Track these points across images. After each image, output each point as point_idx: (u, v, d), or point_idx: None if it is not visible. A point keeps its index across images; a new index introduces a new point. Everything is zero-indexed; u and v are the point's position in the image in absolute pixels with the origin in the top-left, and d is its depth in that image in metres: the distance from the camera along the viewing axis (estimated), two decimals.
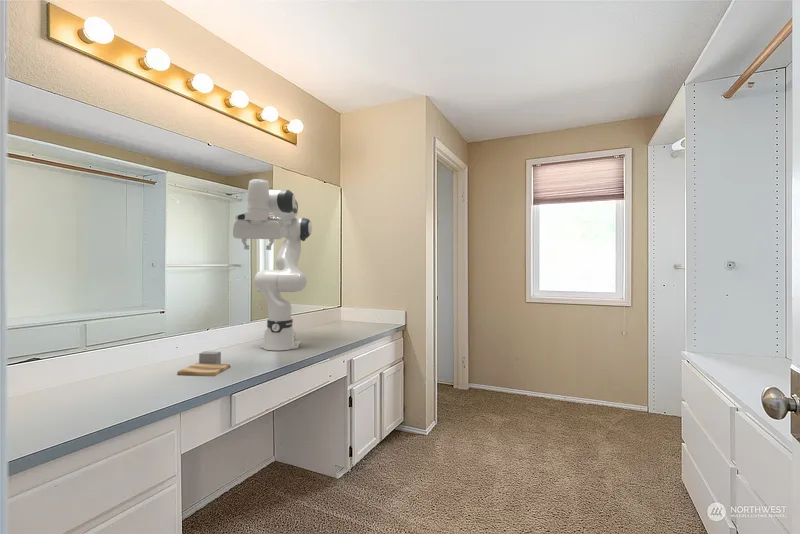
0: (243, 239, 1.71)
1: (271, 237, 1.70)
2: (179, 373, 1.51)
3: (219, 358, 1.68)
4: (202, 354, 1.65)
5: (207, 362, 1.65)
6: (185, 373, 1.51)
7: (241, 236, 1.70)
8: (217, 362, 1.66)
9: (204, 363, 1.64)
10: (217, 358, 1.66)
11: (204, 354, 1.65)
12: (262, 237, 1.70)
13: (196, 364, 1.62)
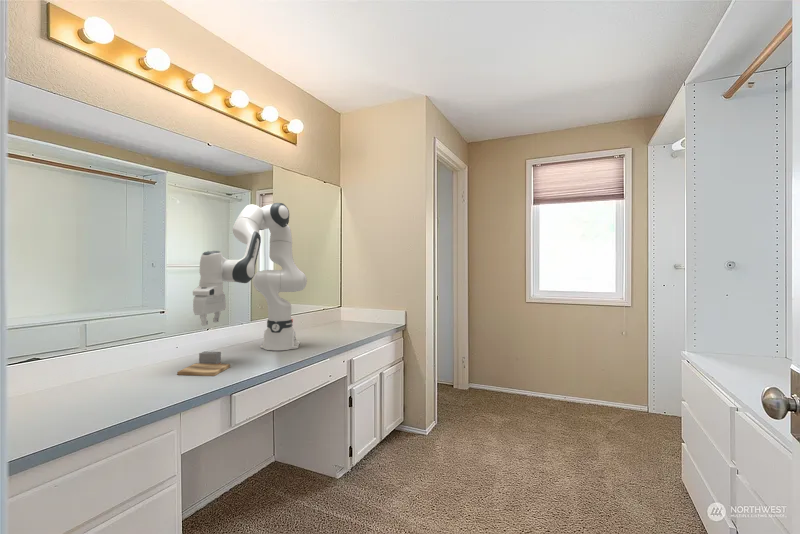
0: (205, 315, 1.61)
1: (222, 309, 1.73)
2: (179, 373, 1.51)
3: (219, 358, 1.68)
4: (202, 354, 1.65)
5: (207, 362, 1.65)
6: (185, 373, 1.51)
7: (207, 312, 1.61)
8: (217, 362, 1.66)
9: (204, 363, 1.64)
10: (217, 358, 1.66)
11: (204, 354, 1.65)
12: (217, 310, 1.70)
13: (196, 364, 1.62)
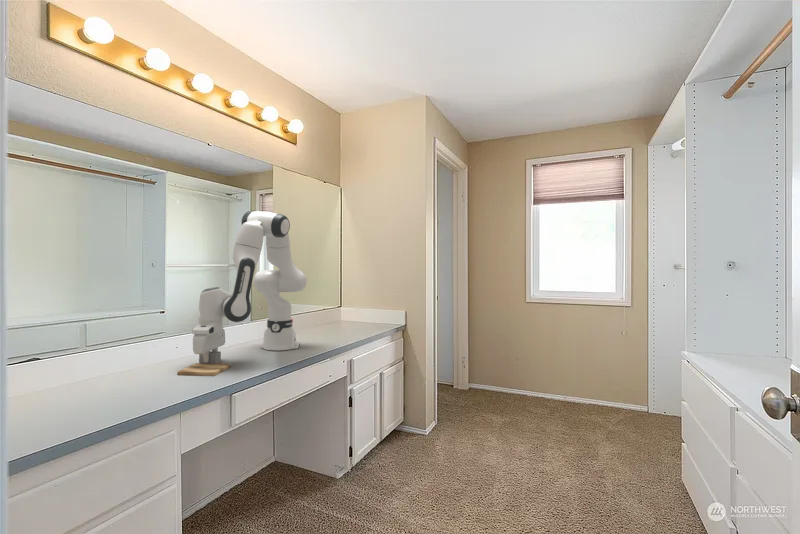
0: (208, 352, 1.63)
1: (221, 344, 1.74)
2: (179, 373, 1.51)
3: (219, 358, 1.68)
4: None
5: (207, 362, 1.65)
6: (185, 373, 1.51)
7: (206, 350, 1.61)
8: (217, 362, 1.66)
9: (204, 363, 1.64)
10: (217, 358, 1.66)
11: None
12: (217, 346, 1.70)
13: (196, 364, 1.62)
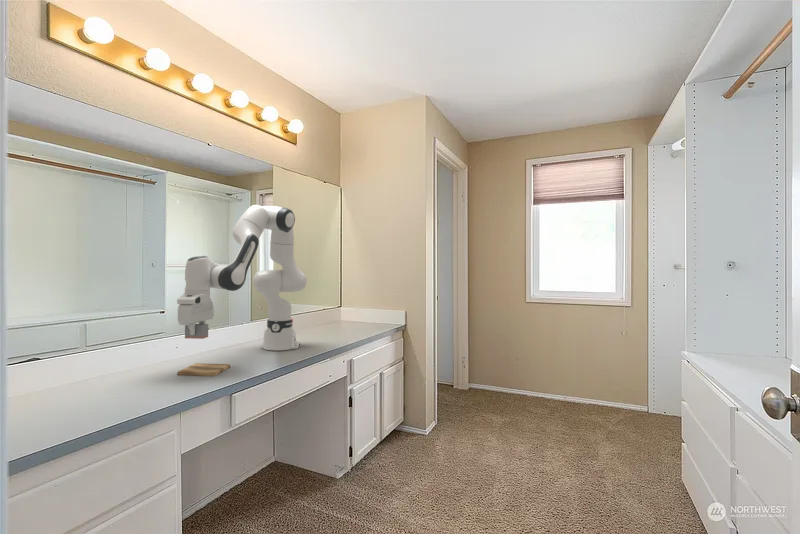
0: (194, 324, 1.53)
1: (209, 318, 1.63)
2: (179, 373, 1.51)
3: (206, 331, 1.58)
4: None
5: None
6: (185, 373, 1.51)
7: (192, 321, 1.51)
8: (204, 335, 1.56)
9: (204, 363, 1.64)
10: (204, 330, 1.56)
11: None
12: (204, 319, 1.60)
13: (196, 364, 1.62)
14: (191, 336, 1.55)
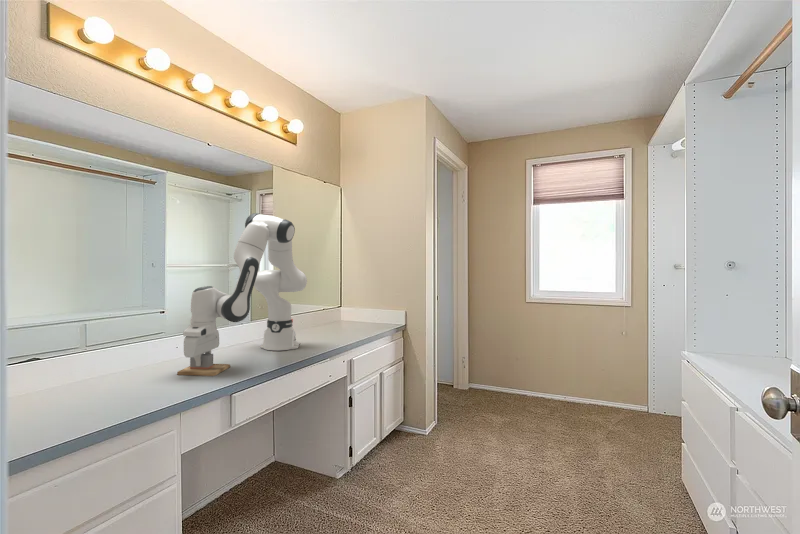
0: (200, 355, 1.54)
1: (215, 347, 1.64)
2: (179, 373, 1.51)
3: (211, 360, 1.58)
4: None
5: None
6: (185, 373, 1.51)
7: (198, 353, 1.51)
8: (209, 365, 1.56)
9: None
10: (209, 360, 1.56)
11: None
12: (210, 349, 1.60)
13: None
14: (196, 366, 1.55)
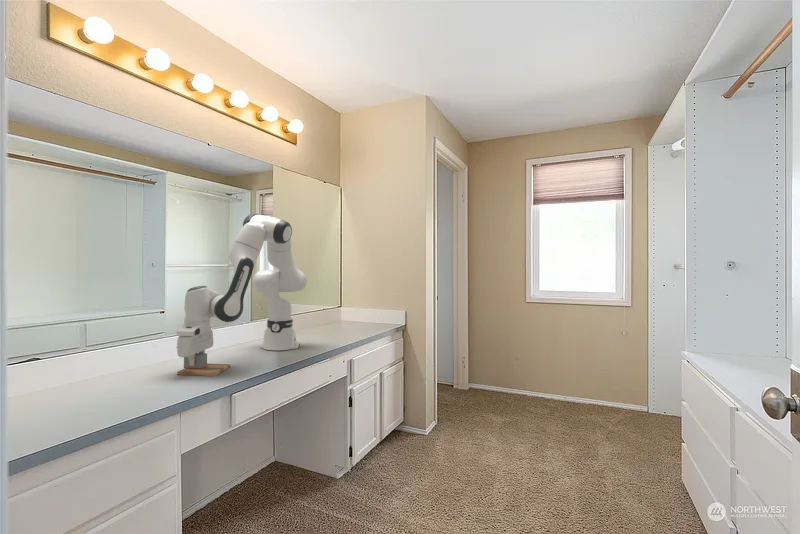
0: (194, 355, 1.53)
1: (209, 347, 1.64)
2: (179, 373, 1.51)
3: (205, 360, 1.58)
4: None
5: None
6: (185, 373, 1.51)
7: (192, 353, 1.51)
8: (203, 364, 1.56)
9: None
10: (203, 360, 1.56)
11: None
12: (204, 349, 1.60)
13: None
14: (190, 366, 1.55)
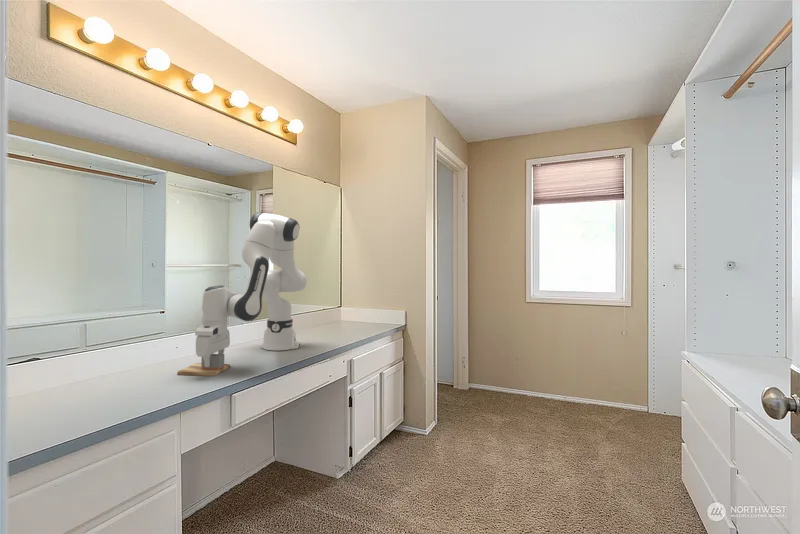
0: (209, 355, 1.51)
1: (226, 346, 1.63)
2: (179, 373, 1.51)
3: (223, 361, 1.58)
4: None
5: None
6: (185, 373, 1.51)
7: (210, 353, 1.51)
8: (220, 365, 1.56)
9: None
10: (220, 361, 1.56)
11: None
12: (221, 348, 1.60)
13: (196, 364, 1.62)
14: (208, 367, 1.55)
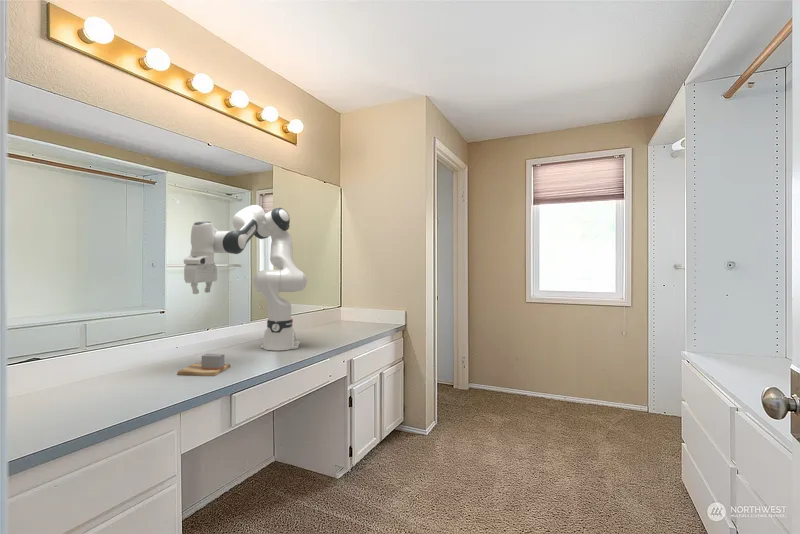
0: (197, 283, 1.63)
1: (213, 280, 1.76)
2: (179, 373, 1.51)
3: (223, 361, 1.58)
4: (205, 357, 1.55)
5: (210, 365, 1.55)
6: (185, 373, 1.51)
7: (198, 280, 1.63)
8: (220, 365, 1.56)
9: None
10: (220, 361, 1.56)
11: (207, 357, 1.55)
12: (209, 280, 1.72)
13: (196, 364, 1.62)
14: (208, 367, 1.55)
